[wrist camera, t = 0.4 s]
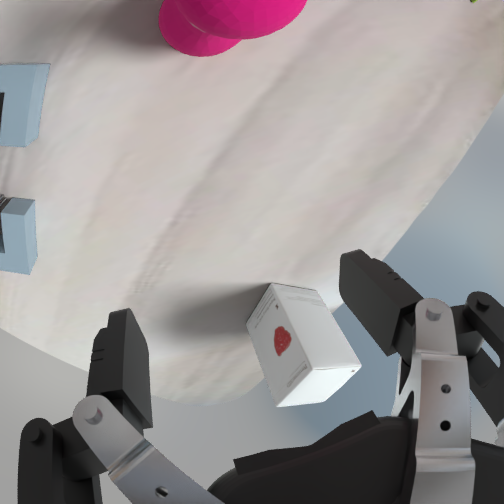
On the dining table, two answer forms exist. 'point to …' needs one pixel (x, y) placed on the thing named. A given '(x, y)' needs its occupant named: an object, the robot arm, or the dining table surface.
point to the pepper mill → (222, 22)
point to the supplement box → (299, 346)
